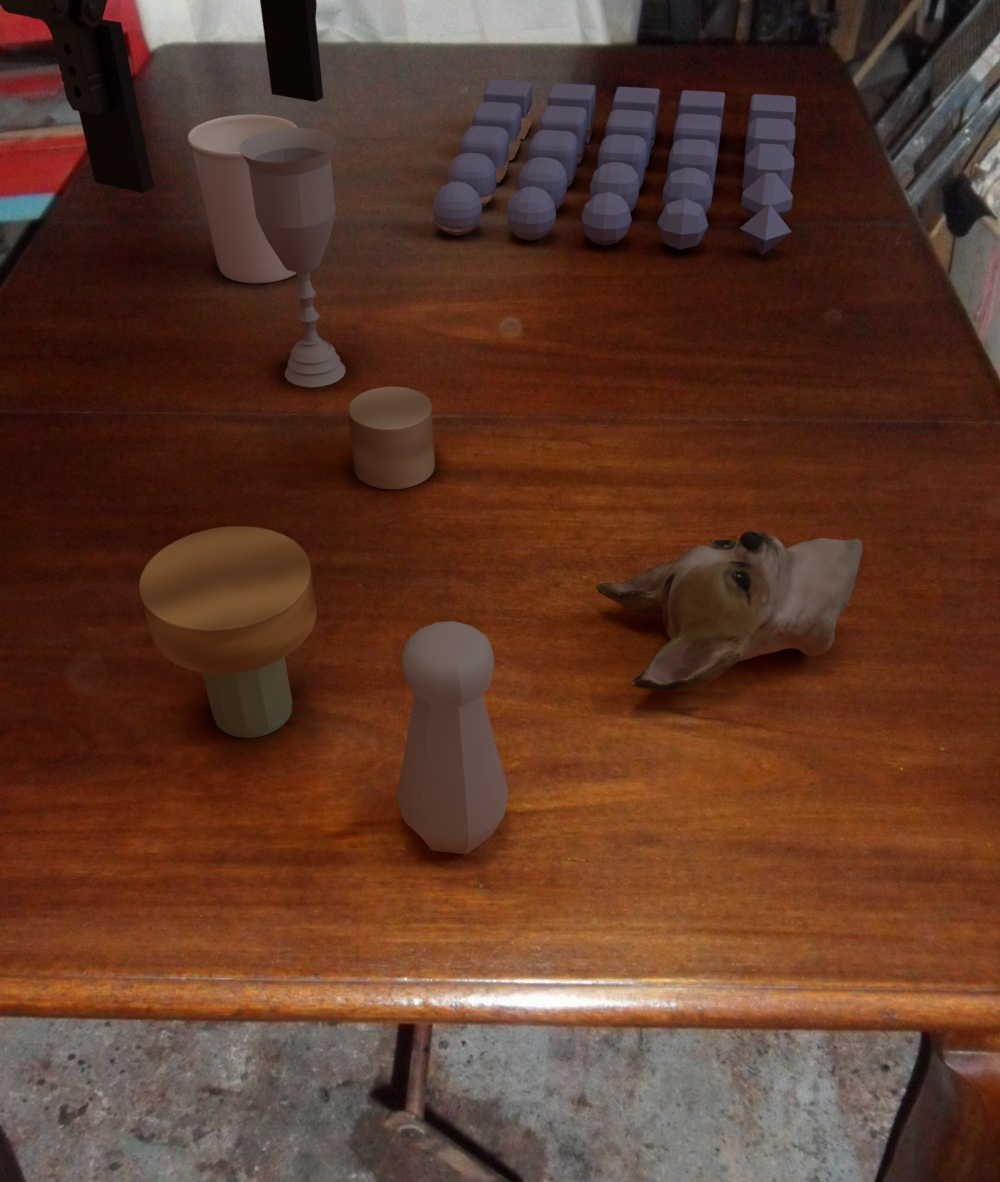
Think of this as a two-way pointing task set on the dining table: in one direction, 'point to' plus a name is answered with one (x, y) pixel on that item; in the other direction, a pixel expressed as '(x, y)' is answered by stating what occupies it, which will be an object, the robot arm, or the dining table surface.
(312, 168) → the chalice
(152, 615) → the wooden disc
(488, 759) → the salt shaker
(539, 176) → the blocks
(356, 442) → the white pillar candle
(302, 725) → the dining table surface
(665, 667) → the ceramic sculpture
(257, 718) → the cup
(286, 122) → the white tapered vessel
